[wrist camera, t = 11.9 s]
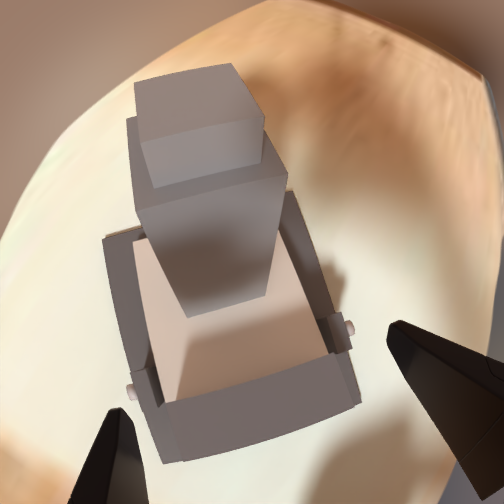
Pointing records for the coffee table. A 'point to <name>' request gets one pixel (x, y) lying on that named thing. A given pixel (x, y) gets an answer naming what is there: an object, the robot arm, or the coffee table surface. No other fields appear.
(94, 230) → the coffee table surface
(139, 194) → the stone pillar
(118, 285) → the stand
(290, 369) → the trapdoor flap
